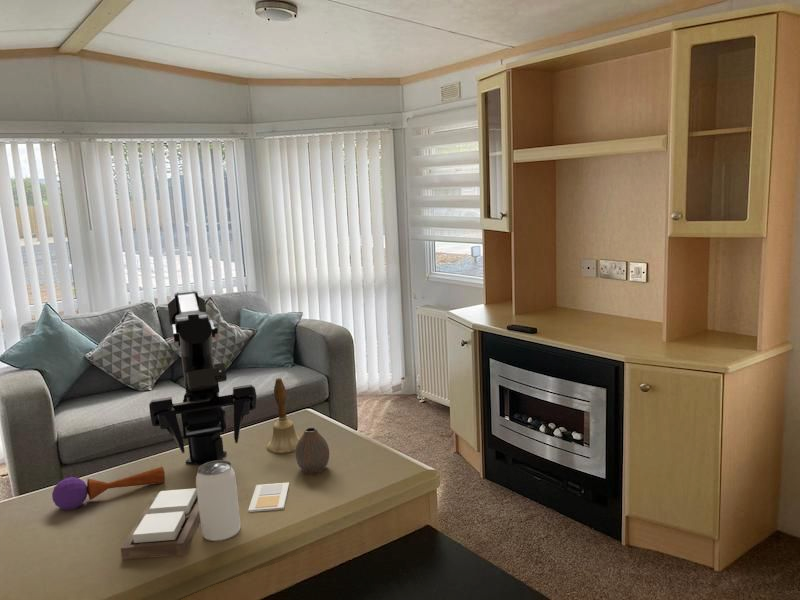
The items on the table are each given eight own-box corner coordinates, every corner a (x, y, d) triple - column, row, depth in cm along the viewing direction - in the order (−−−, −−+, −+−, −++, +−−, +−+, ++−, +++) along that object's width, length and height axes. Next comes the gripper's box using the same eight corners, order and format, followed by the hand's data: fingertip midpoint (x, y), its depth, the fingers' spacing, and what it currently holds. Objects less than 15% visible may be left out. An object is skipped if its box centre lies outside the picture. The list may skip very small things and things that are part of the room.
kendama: (166, 469, 130) (53, 491, 119) (166, 495, 132) (54, 519, 121) (159, 454, 134) (50, 474, 124) (159, 479, 136) (51, 501, 126)
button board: (155, 505, 123) (154, 495, 122) (209, 501, 123) (207, 491, 123) (122, 559, 105) (120, 548, 105) (184, 554, 106) (183, 543, 106)
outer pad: (146, 522, 113) (145, 514, 113) (185, 519, 113) (184, 511, 113) (133, 543, 106) (132, 534, 106) (174, 539, 107) (173, 531, 106)
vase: (328, 476, 131) (325, 435, 130) (294, 477, 131) (290, 436, 130) (332, 461, 138) (329, 422, 136) (300, 463, 138) (296, 424, 137)
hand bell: (304, 450, 145) (298, 381, 142) (266, 455, 143) (260, 386, 140) (302, 436, 153) (296, 371, 150) (266, 441, 151) (259, 375, 148)
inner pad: (161, 498, 121) (160, 491, 121) (197, 495, 122) (196, 488, 121) (150, 516, 115) (149, 508, 115) (188, 513, 115) (187, 505, 115)
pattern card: (256, 486, 128) (256, 484, 128) (289, 484, 129) (289, 481, 129) (248, 512, 118) (248, 509, 118) (283, 509, 119) (283, 506, 119)
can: (248, 526, 114) (242, 461, 111) (224, 545, 108) (216, 478, 106) (219, 519, 116) (212, 456, 114) (194, 538, 111) (186, 472, 108)
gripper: (143, 357, 115) (150, 437, 107) (249, 342, 121) (265, 417, 113) (148, 387, 124) (156, 464, 115) (248, 372, 130) (262, 444, 122)
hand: (210, 447), depth 116 cm, fingers open, 9 cm apart
